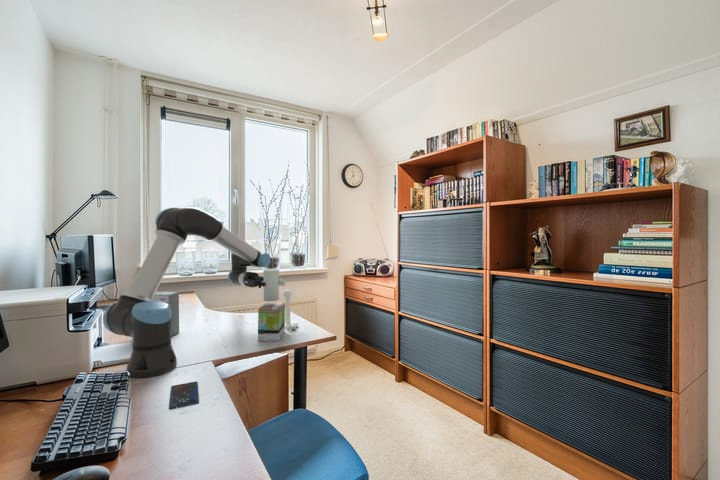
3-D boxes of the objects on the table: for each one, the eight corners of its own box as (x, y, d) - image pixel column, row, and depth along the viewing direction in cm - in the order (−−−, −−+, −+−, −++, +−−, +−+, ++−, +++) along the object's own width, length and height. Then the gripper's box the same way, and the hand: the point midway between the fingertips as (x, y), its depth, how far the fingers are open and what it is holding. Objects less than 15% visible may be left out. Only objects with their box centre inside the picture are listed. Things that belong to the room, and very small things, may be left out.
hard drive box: (180, 332, 158) (179, 292, 158) (169, 338, 151) (169, 295, 150) (150, 331, 160) (150, 291, 160) (138, 336, 152) (137, 294, 152)
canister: (269, 301, 150) (269, 271, 149) (260, 299, 154) (260, 270, 154) (281, 299, 155) (281, 270, 155) (272, 297, 160) (272, 269, 159)
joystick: (279, 325, 172) (279, 288, 172) (293, 323, 176) (293, 286, 176) (287, 331, 163) (287, 291, 162) (301, 328, 167) (301, 290, 166)
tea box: (279, 341, 148) (279, 308, 147) (257, 341, 147) (257, 309, 147) (285, 331, 163) (285, 301, 162) (264, 331, 162) (264, 301, 162)
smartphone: (197, 380, 107) (199, 402, 94) (197, 383, 107) (199, 404, 94) (171, 385, 103) (168, 408, 90) (171, 388, 103) (168, 411, 90)
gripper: (266, 284, 173) (294, 289, 159) (231, 289, 158) (259, 295, 144) (266, 270, 173) (294, 273, 159) (231, 273, 158) (259, 278, 143)
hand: (277, 284), depth 151 cm, fingers closed on canister, 7 cm apart
